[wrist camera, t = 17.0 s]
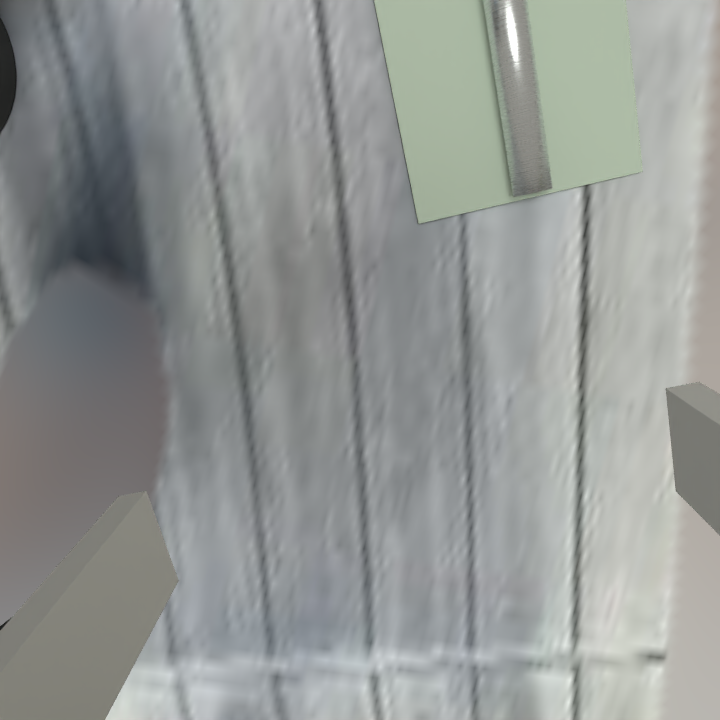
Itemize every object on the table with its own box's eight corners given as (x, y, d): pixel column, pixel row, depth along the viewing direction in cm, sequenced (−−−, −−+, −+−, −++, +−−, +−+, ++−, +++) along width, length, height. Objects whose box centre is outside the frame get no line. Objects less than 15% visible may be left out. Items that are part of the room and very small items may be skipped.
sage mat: (639, 171, 47) (642, 171, 46) (418, 223, 48) (418, 223, 48) (597, -251, 39) (600, -258, 39) (339, -173, 41) (338, -178, 41)
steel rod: (552, 187, 46) (553, 188, 44) (513, 195, 47) (512, 197, 45) (504, -167, 40) (501, -191, 37) (461, -149, 41) (455, -171, 38)
